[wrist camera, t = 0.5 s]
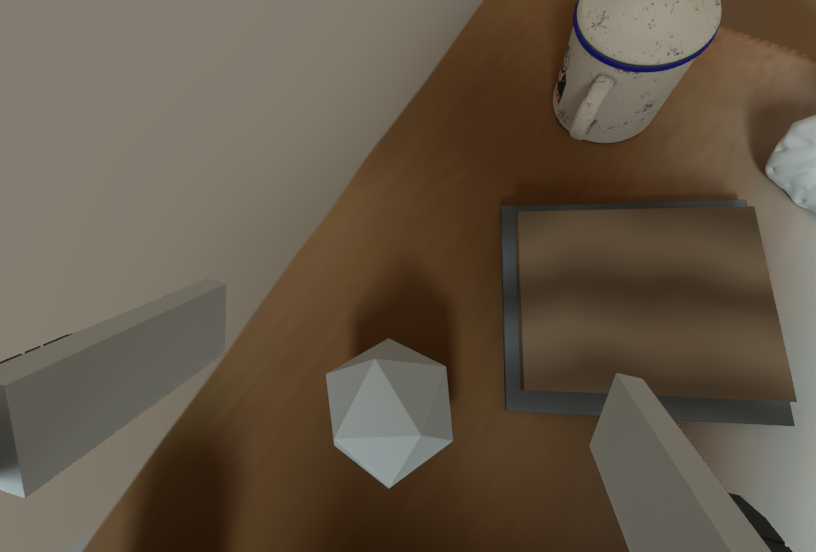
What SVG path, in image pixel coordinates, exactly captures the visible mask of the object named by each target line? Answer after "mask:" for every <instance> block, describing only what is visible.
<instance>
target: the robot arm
mask: <svg viewBox="0 0 816 552" xmlns="http://www.w3.org/2000/svg"><path fill="white" fill-rule="evenodd" d="M225 326H226V283H222V282H218V281H213V280H209V279H205V280H203V281H200V282H198V283H195V284H193V285H191V286H188V287H186V288H183V289H181V290H178V291H176V292H174V293H171V294H169V295H166V296H164V297H162V298H159V299H157V300H154V301H152V302H149V303H147V304H144V305H142V306H140V307H137V308H135V309H132V310H130V311H127V312H125V313H123V314H120V315H118V316H115V317H113V318H110V319H108V320H106V321H103V322H101V323H98V324H96V325H94V326H91V327H89V328H86V329H84V330H81V331H79V332H76V333H74V334H70V335H65V336H63V337H60V338H58V339H56V340H53V341H51V342H48V343H46V344H44V345H43V346H42V347H40V346H39V347H36V348H33V349H31V350H28V351H26V352H25V354H23V355H22V354H19V355H16V356H14V357H12V358H9V359H6V360H4V361H2V362H0V490H2V491H5V492H8V493H11V494H14V495H17V496H20V497H23V498H26V497H27V496H29V495H30V494H32V493H33V492H34V491H36V490H37V489H39V488H40V487H41V486H43V485H44V484H45V483H47V482H48V481H49V480H51V479H52V478H54V477H55V476H56V475H58V474H59V473H60V472H62V471H63V470H65V469H66V468H67V467H69V466H70V465H72V464H73V463H74V462H76V461H77V460H78V459H80V458H81V457H82V456H84V455H85V454H87V453H88V452H89V451H90V450H92V449H93V448H95V447H96V446H98V445H99V444H100V443H102V442H103V441H104V440H106V439H107V438H109V437H110V436H111V435H113V434H114V433H115V432H116V431H118V430H120V429H121V428H122V427H124V426H125V425H126V424H128V423H129V422H131V421H132V420H133V419H135V418H136V417H137V416H138V415H140V414H142V413H143V412H144V411H146V410H147V409H148V408H150V407H151V406H152V405H154V404H155V403H157V402H158V401H159V400H161V399H162V398H163V397H165V396H166V395H167V394H169V393H170V392H172V391H173V390H175V389H176V388H177V387H179V386H180V385H181V384H183V383H184V382H186V381H187V380H188V379H190V378H191V377H192V376H194V375H195V374H197V373H198V372H199V371H201V370H202V369H203V368H205V367H206V366H208V365H209V364H210V363H212V362H213V361H214V360H216V359H217V358H219V357H220V356H221V355H222V354H224V353H225ZM589 446H590V449H591V451H592V454H593V457H594V459H595V462H596V465H597V467H598V470H599V473H600V475H601V478H602V481H603V483H604V486H605V488H606V491H607V494H608V496H609V499H610V502H611V504H612V507H613V510H614V512H615V515H616V518H617V520H618V523H619V525H620V528H621V531H622V533H623V536H624V539H625V541H626V544H627V547H628V549H629V552H792V551H791V549H790V548H789V547H786V546H785V542H784V541H783V539H782V538H781V537H780V536H779V534H778V533H777V532H776V531H775V529H774V528H773V527H772V526H771V524H770V523H769V522H768V521H767V519H766V518H765V517H763V516H762V515H761V514H760V513H759V512H758V511H757V510H755V509H754V508H753V507H752V506H751V505H750V504H749V503H747V502H746V501H745V500H744V499H743V498H742V497H740V496H739V495H735V494H731V493H727V491H726V490H725V489H724V487H723V486H722V485H721V483H720V482H719V481H718V479H717V478H716V477H715V475H714V474H713V473H712V471H711V470H710V469H709V467H708V466H707V464H706V463H705V462H704V460H703V459H702V458H701V456H700V455H699V454H698V452H697V451H696V450H695V448H694V447H693V446H692V444H691V443H690V442H689V440H688V439H687V438H686V436H685V435H684V434H683V432H682V431H681V430H680V428H679V427H678V426H677V424H676V423H675V422H674V420H673V419H672V418H671V416H670V415H669V414H668V412H667V411H666V410H665V408H664V407H663V405H662V404H661V403H660V401H659V400H658V399H657V397H656V396H655V395H654V393H653V392H652V391H651V389H650V388H649V387H648V385H647V384H646V383H645V381H644V380H643V379H641V378H637V377H633V376H628V375H624V374H620V373H616V375H615V378H614V380H613V383H612V386H611V388H610V391H609V394H608V397H607V399H606V402H605V405H604V407H603V410H602V413H601V415H600V418H599V421H598V423H597V426H596V429H595V431H594V434H593V437H592V440H591V442H590V445H589Z"/></svg>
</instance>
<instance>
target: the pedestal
mask: <svg viewBox="0 0 816 552" xmlns="http://www.w3.org/2000/svg"><path fill="white" fill-rule="evenodd" d="M500 215H501V256H502V297H503V339H504V380H505V410H506V411H516V412H535V413H554V414H573V415H592V416H600V415H601V413H602V410H603V407H604V405H605V402H606V399H607V397H608V394H609V391H610V388H611V386H612V383H613V380H614V378H615V375H616V373H620V374H624V375H628V376H633V377H637V378H641V379H643V380H644V381H645V383H646V384H647V385H648V387H649V388H650V389H651V391H652V392H653V393H654V395H655V396H656V397H657V399H658V400H659V401H660V403H661V404H662V405H663V407H664V408H665V410H666V411H667V412H668V414H669V415H670V416H671V418H672V419H673V420H688V421H707V422H726V423H745V424H764V425H783V426H795V425H794V421H793V416H792V411H791V407H790V402H797V400H796V396H795V391H794V387H793V382H792V377H791V373H790V368H789V364H788V359H787V355H786V350H785V346H784V341H783V336H782V332H781V327H780V323H779V318H778V314H777V309H776V304H775V300H774V295H773V291H772V286H771V282H770V277H769V273H768V268H767V263H766V259H765V254H764V250H763V245H762V241H761V236H760V232H759V227H758V222H757V218H756V213H755V209H754V206H747V202H746V200H713V201H672V202H632V203H591V204H551V205H511V206H501V210H500Z"/></svg>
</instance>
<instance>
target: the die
mask: <svg viewBox="0 0 816 552" xmlns="http://www.w3.org/2000/svg"><path fill="white" fill-rule="evenodd" d="M326 380H327V389H328V397H329V405H330V414H331V422H332V431H333V439H334V446H336V447H337V448H338V449H339V450H341V451H342V452H343V453H344V454H346V455H347V456H348V457H350V458H351V459H352V460H353V461H355V462H356V463H357V464H358V465H360V466H361V467H362V468H364V469H365V470H366V471H367V472H369V473H370V474H371V475H372V476H374V477H375V478H376V479H377V480H379V481H380V482H381V483H383V484H384V485H385V486H386V487H388V488H390V487H392V486H393V485H394V484H396V483H397V482H398V481H400V480H401V479H402V478H404V477H405V476H407V475H408V474H409V473H411V472H412V471H413V470H415V469H416V468H417V467H419V466H420V465H421V464H423V463H424V462H425V461H427V460H428V459H429V458H431V457H432V456H433V455H435V454H436V453H437V452H439V451H440V450H441V449H443V448H444V447H445V446H447V445H448V444H449V443H451V442H452V441H453V434H452V423H451V413H450V402H449V392H448V381H447V371H446V366H444V365H442V364H440V363H438V362H436V361H434V360H432V359H430V358H428V357H426V356H424V355H422V354H420V353H418V352H416V351H414V350H412V349H410V348H407V347H405V346H403V345H401V344H399V343H397V342H395V341H393V340H391V339H389V338H388V339H386V340H384V341H383V342H381V343H379V344H377V345H376V346H374V347H372V348H370V349H369V350H367V351H365V352H363V353H362V354H360V355H358V356H356V357H355V358H353V359H351V360H349V361H348V362H346V363H344V364H342V365H341V366H339V367H337V368H335V369H334V370H332V371H330V372H328V373H327V374H326Z"/></svg>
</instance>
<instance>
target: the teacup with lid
mask: <svg viewBox="0 0 816 552" xmlns="http://www.w3.org/2000/svg"><path fill="white" fill-rule="evenodd" d="M720 19H721V1H720V0H578V2H577V4H576V6H575V10H574V15H573V29H572V32H571V36H570V39H569V42H568V46H567V49H566V52H565V56H564V59H563V63H562V66H561V69H560V73H559V76H558V79H557V83H556V86H555V90H554V93H553V108H554V112H555V114H556V117H557V119H558V120H559V122H560V123H561V124H562V126H563V127H564V128H565V129H567V130H568V131H569V132H570V136H571V137H572V138H575V139H577V140H583V139H584V140H587V141H591V142H597V143H613V142H619V141H623V140H626V139H629V138H631V137H633V136H635V135H637V134H638V133H640V132H641V131H643V130H644V129H645V128H646V127H647V126H648V125H649V124H650V123H651V121H652V120H653V118H654V117H655V115H656V114H657V113H658V111H659V110H660V108H661V107H662V105H663V104H664V103H665V101H666V100H667V98H668V97H669V95H670V94H671V92H672V91H673V90H674V88H675V87H676V85H677V84H678V82H679V81H680V80H681V78H682V77H683V75H684V74H685V72H686V71H687V69H688V68H689V67H690V65H691V64H692V62H693V61H694V59H695V58H696V57H697V56H698V55H700V54H701V53H702V52H703V51H704V50H705V49H706V48H707V47H708V46H709V45H710V43H711V42H712V40H713V39H714V37H715V35H716V33H717V30H718V27H719V23H720Z"/></svg>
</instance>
